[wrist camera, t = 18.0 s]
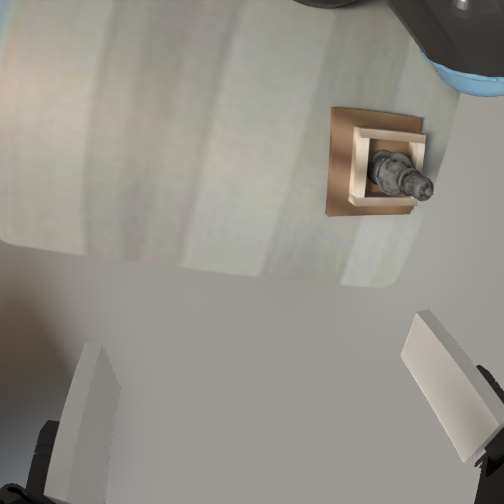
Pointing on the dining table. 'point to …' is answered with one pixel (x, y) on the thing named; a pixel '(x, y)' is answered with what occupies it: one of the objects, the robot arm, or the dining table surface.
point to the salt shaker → (397, 175)
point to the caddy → (356, 159)
